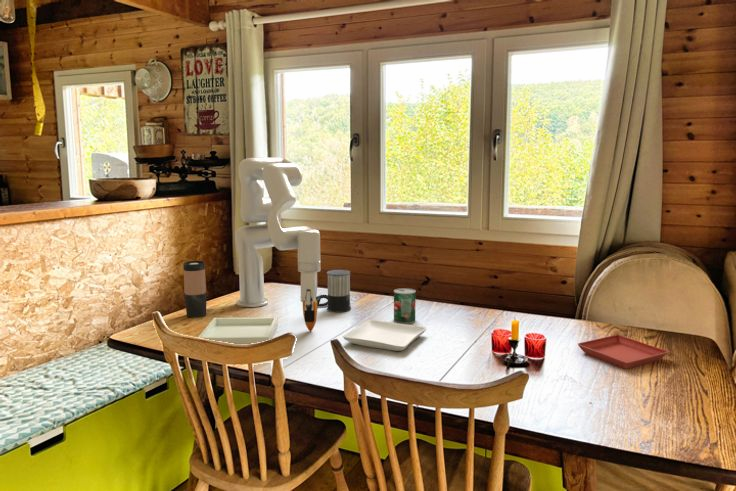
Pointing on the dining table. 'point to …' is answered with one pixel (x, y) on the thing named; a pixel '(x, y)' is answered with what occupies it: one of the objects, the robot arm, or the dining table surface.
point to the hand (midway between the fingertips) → (310, 318)
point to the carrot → (311, 324)
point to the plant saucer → (622, 351)
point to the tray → (241, 329)
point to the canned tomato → (404, 305)
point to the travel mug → (195, 288)
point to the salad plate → (384, 335)
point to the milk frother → (337, 291)
